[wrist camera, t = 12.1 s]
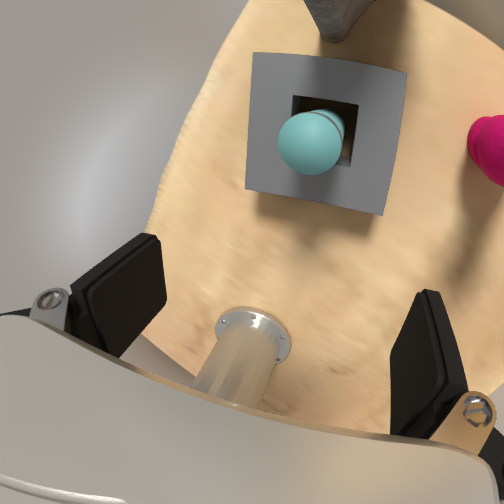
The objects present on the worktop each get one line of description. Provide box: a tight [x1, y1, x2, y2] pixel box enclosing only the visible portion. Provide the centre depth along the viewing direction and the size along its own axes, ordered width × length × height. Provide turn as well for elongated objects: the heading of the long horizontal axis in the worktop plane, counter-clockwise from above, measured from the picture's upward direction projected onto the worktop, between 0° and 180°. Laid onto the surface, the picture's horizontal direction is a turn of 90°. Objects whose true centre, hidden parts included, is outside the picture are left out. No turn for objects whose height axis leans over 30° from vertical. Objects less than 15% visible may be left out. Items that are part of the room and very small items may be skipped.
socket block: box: [245, 52, 407, 216], centre depth 27 cm, size 14×14×5 cm
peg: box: [278, 108, 345, 175], centre depth 23 cm, size 4×4×14 cm
